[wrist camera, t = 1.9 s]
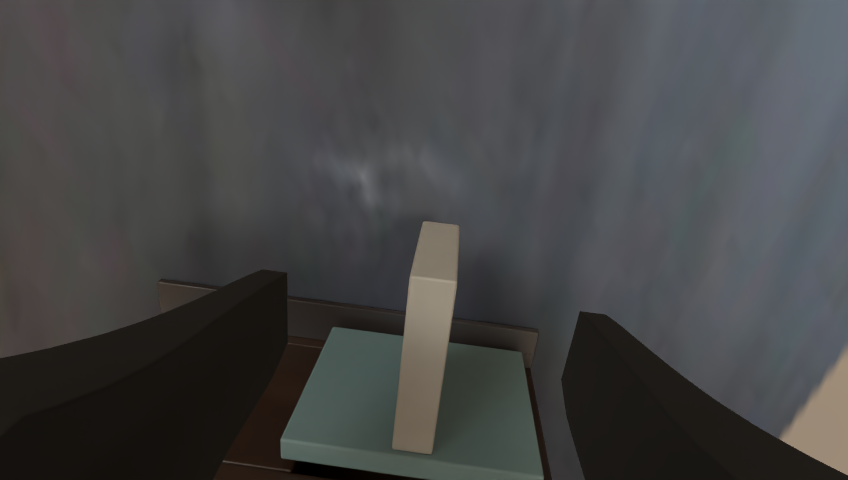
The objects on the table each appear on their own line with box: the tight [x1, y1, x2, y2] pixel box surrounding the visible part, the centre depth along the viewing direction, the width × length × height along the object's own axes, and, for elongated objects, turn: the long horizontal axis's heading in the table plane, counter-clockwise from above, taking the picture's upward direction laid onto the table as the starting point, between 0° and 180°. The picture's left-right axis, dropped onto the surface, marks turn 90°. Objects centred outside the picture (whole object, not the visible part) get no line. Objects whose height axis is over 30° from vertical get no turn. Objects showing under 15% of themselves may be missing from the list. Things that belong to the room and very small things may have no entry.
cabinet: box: [157, 279, 552, 480], centre depth 19 cm, size 11×16×8 cm
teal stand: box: [280, 221, 544, 480], centre depth 16 cm, size 7×8×6 cm
